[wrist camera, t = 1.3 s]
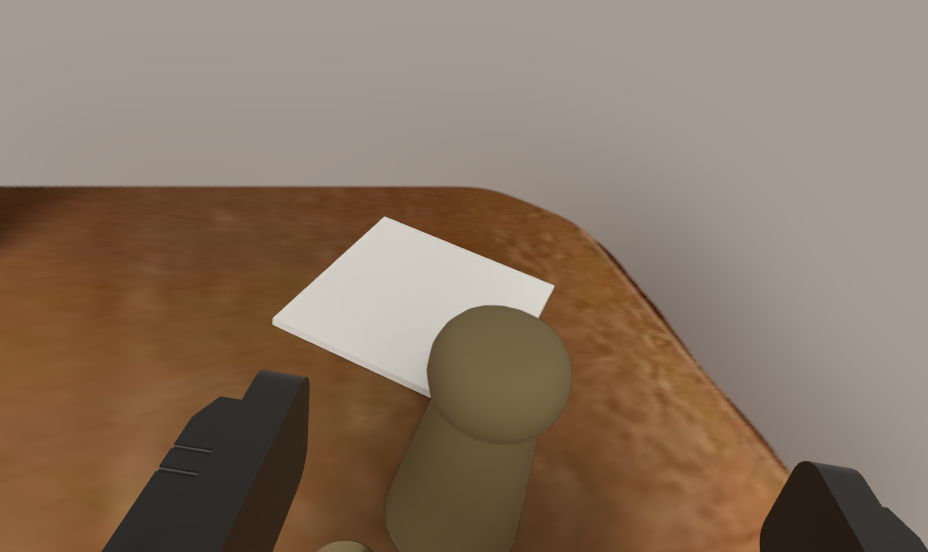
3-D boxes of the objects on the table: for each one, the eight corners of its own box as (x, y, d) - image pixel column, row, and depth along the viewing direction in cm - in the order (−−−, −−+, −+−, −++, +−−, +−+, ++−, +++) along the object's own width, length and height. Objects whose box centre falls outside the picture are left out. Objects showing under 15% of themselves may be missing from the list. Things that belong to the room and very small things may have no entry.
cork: (500, 603, 25) (585, 433, 19) (362, 548, 26) (397, 365, 19) (529, 482, 30) (605, 313, 23) (412, 438, 31) (453, 262, 24)
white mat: (272, 324, 35) (272, 318, 35) (383, 222, 45) (384, 216, 45) (485, 423, 32) (487, 417, 32) (552, 291, 42) (554, 285, 42)
